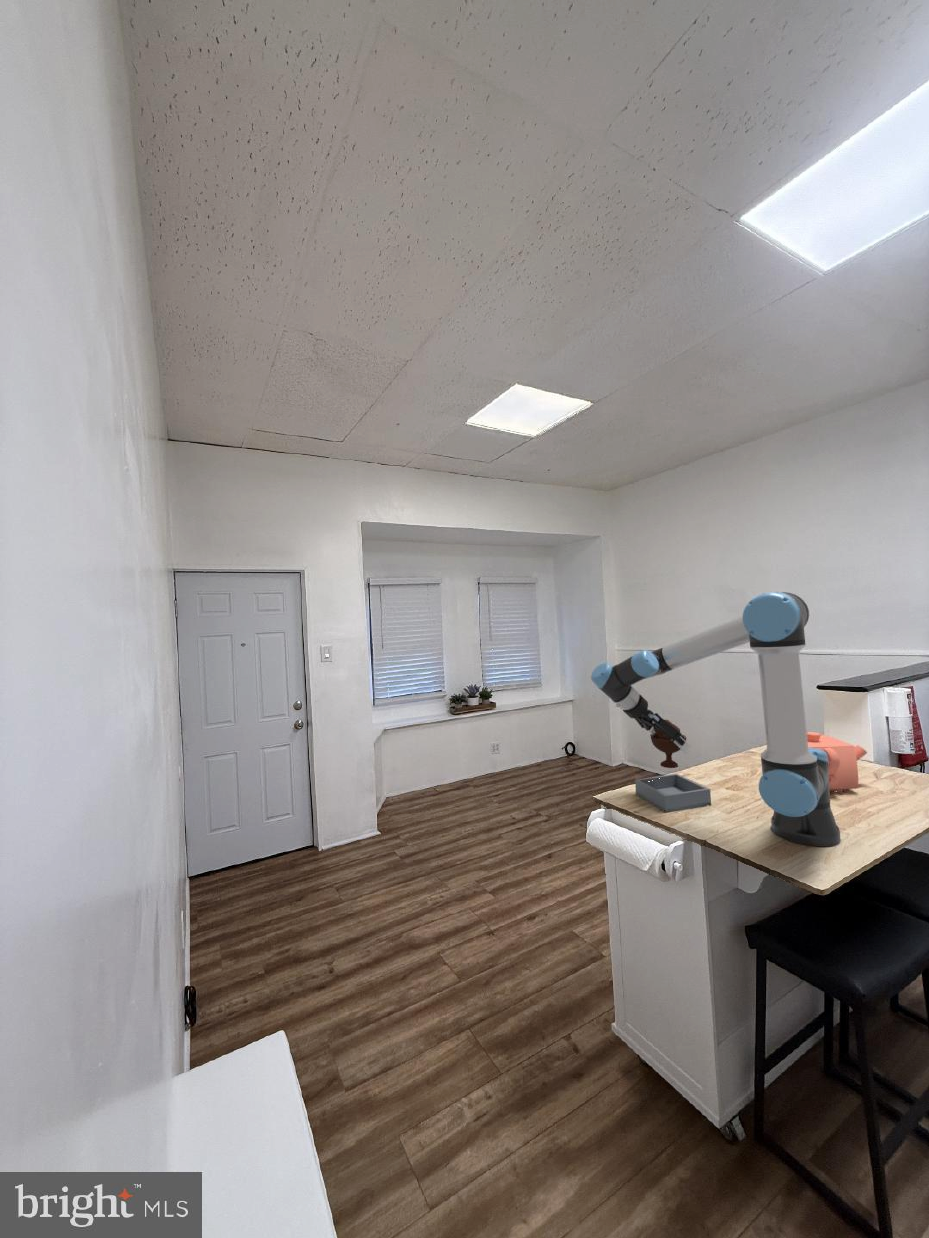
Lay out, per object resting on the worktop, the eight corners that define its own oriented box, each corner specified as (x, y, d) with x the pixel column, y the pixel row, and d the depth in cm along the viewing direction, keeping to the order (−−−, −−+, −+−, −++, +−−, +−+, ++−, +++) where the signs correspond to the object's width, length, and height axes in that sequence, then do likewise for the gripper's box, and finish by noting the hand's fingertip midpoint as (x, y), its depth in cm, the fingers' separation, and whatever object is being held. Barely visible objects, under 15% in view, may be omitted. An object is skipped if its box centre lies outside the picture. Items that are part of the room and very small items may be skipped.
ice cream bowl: (684, 772, 149) (681, 724, 149) (646, 767, 156) (644, 721, 156) (691, 763, 158) (689, 717, 158) (655, 758, 164) (653, 714, 164)
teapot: (844, 773, 171) (841, 723, 171) (894, 798, 148) (891, 740, 148) (769, 775, 173) (766, 725, 173) (807, 799, 151) (804, 742, 151)
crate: (711, 805, 151) (710, 789, 151) (666, 812, 147) (665, 796, 147) (677, 788, 166) (676, 773, 166) (635, 794, 163) (635, 779, 163)
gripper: (604, 704, 165) (647, 745, 168) (645, 718, 142) (694, 764, 145) (618, 688, 166) (660, 728, 169) (660, 698, 143) (708, 745, 147)
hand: (675, 745), depth 157 cm, fingers closed on ice cream bowl, 11 cm apart
